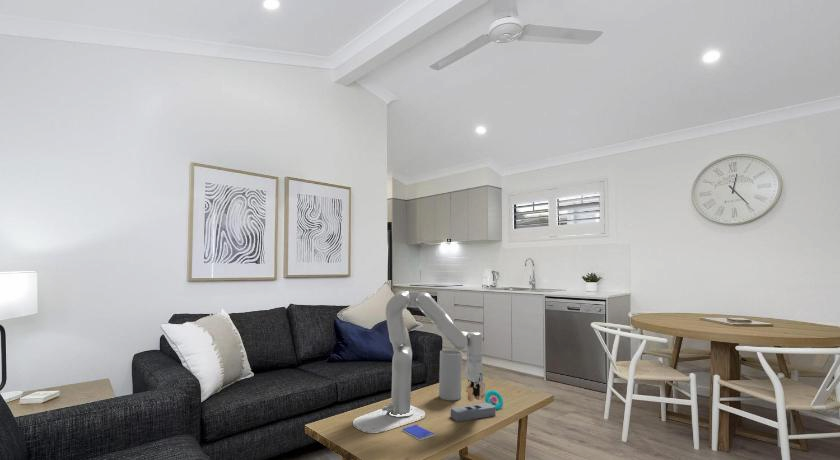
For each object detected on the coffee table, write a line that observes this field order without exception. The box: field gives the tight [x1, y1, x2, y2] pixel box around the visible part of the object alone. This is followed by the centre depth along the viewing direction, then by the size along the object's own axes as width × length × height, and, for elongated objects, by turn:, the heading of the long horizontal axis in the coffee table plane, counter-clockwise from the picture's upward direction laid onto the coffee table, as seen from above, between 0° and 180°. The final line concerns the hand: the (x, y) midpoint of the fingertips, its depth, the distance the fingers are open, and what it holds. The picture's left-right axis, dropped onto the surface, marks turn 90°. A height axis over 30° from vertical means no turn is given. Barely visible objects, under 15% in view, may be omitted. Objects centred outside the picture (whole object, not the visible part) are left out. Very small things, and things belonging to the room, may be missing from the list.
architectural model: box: [482, 382, 486, 397], centre depth 242 cm, size 3×7×7 cm, turn 145°
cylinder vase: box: [438, 349, 463, 401], centre depth 237 cm, size 12×12×25 cm
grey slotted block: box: [450, 402, 497, 423], centre depth 209 cm, size 22×7×4 cm, turn 117°
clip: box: [465, 385, 483, 402], centre depth 209 cm, size 8×3×6 cm, turn 117°
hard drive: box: [402, 424, 435, 441], centre depth 186 cm, size 2×8×12 cm
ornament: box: [484, 390, 504, 411], centre depth 223 cm, size 11×4×10 cm
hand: (474, 394), depth 209 cm, fingers closed on clip, 3 cm apart
